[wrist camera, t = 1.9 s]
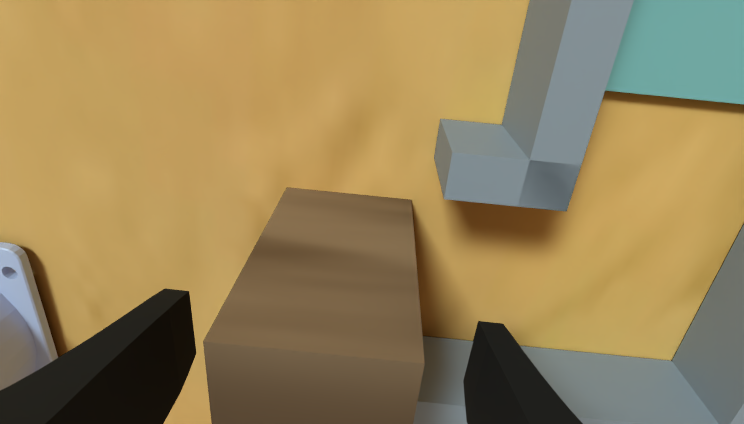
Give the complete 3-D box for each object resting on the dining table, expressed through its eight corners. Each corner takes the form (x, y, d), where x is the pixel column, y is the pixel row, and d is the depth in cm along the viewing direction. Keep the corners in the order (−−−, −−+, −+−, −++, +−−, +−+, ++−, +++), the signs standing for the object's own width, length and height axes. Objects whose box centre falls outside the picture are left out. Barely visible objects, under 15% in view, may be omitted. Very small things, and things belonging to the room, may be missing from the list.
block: (397, 300, 16) (398, 497, 10) (286, 288, 16) (217, 479, 10) (411, 199, 14) (424, 363, 8) (286, 187, 14) (202, 341, 8)
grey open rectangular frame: (690, 387, 17) (745, 460, 15) (401, 358, 17) (403, 426, 15) (1044, -232, 9) (1311, -323, 7) (505, -286, 9) (550, -399, 7)
